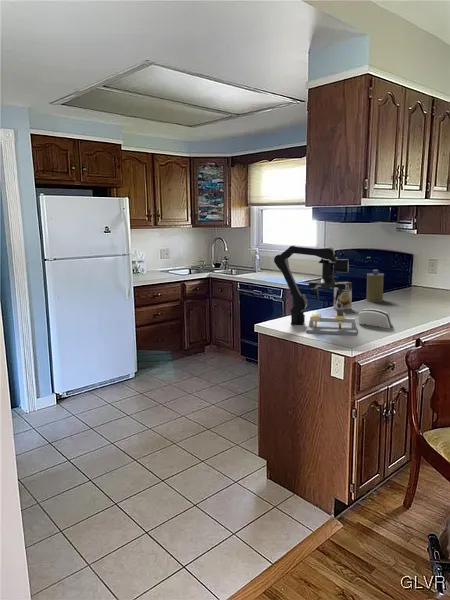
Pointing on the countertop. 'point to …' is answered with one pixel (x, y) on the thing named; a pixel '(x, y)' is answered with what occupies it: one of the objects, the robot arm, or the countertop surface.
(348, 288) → the coffee box
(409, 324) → the countertop surface
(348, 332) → the plate
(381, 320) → the white curved block
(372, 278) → the canister
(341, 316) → the block
